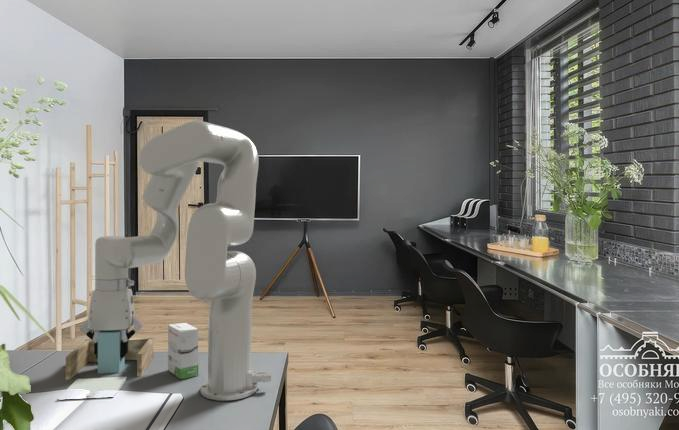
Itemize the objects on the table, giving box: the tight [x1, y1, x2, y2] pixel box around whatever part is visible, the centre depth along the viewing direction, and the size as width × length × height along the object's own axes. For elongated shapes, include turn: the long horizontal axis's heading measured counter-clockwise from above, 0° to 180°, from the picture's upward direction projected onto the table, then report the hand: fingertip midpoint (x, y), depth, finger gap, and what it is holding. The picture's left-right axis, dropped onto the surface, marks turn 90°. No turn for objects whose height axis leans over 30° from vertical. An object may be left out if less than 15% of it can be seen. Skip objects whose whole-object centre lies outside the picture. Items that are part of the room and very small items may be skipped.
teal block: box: [97, 331, 126, 374], centre depth 120 cm, size 5×5×10 cm
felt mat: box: [66, 376, 128, 398], centre depth 107 cm, size 11×11×1 cm
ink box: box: [167, 322, 199, 380], centre depth 118 cm, size 9×5×12 cm, turn 39°
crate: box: [65, 337, 154, 381], centre depth 121 cm, size 17×14×6 cm
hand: (111, 355), depth 120 cm, fingers closed on teal block, 5 cm apart
